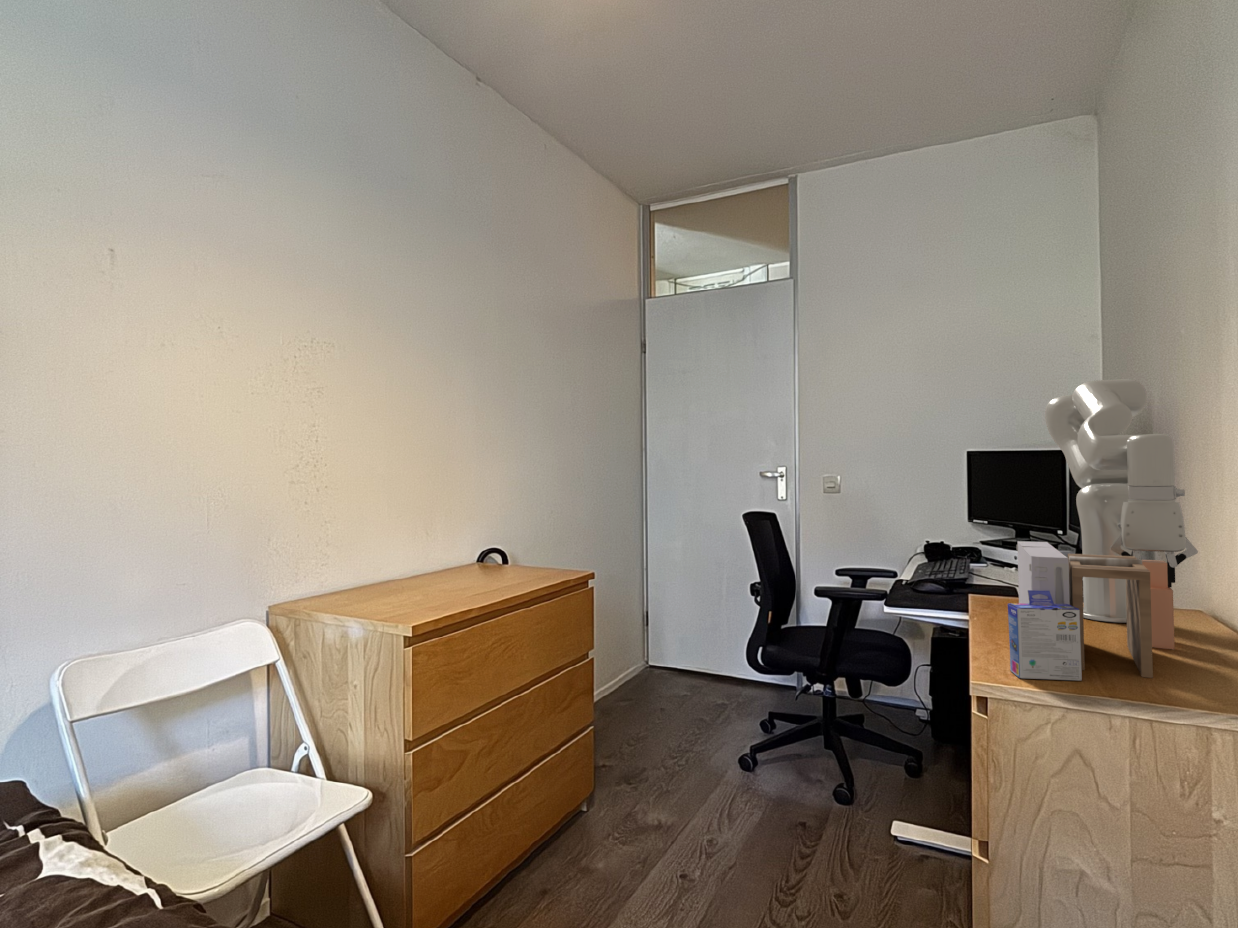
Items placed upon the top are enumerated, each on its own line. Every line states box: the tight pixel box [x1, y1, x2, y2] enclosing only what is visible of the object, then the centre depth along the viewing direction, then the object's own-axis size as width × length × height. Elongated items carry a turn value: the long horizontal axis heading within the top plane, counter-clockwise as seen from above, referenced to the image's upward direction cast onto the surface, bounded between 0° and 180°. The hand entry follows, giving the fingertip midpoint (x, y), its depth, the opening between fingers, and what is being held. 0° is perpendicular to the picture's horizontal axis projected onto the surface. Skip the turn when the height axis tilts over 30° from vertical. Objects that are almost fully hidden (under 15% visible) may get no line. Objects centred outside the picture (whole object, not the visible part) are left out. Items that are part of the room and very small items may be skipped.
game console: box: [1016, 540, 1070, 605], centre depth 132 cm, size 6×27×20 cm, turn 154°
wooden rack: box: [1067, 553, 1154, 679], centre depth 125 cm, size 22×11×19 cm, turn 148°
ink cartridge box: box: [1007, 590, 1083, 682], centre depth 116 cm, size 10×6×14 cm, turn 78°
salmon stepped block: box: [1142, 559, 1175, 650], centre depth 135 cm, size 8×5×16 cm, turn 148°
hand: (1153, 584), depth 135 cm, fingers closed on salmon stepped block, 4 cm apart
